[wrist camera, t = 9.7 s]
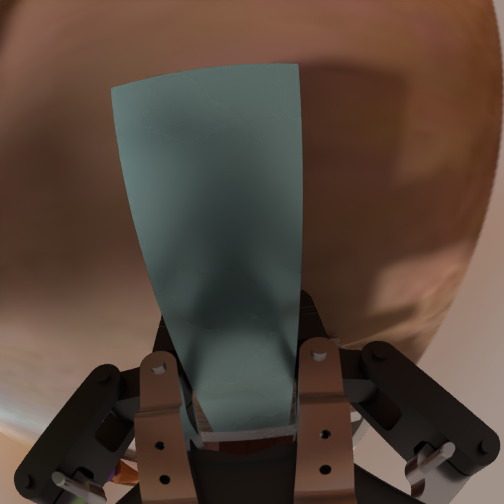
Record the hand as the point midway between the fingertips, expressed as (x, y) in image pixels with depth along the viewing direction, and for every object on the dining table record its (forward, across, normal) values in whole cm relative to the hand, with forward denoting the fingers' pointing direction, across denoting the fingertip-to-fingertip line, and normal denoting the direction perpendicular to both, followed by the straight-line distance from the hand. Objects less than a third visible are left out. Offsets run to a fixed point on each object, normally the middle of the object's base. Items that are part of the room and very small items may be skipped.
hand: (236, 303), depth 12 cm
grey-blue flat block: (+1, 0, -1) cm, 1 cm away
